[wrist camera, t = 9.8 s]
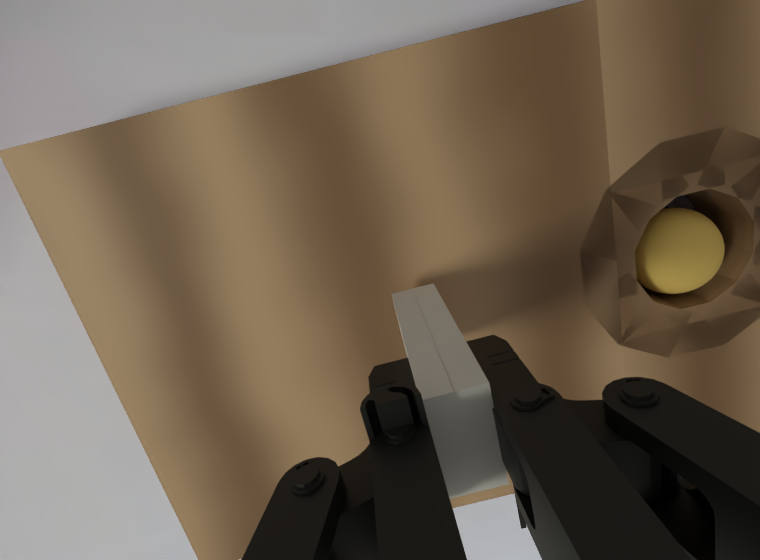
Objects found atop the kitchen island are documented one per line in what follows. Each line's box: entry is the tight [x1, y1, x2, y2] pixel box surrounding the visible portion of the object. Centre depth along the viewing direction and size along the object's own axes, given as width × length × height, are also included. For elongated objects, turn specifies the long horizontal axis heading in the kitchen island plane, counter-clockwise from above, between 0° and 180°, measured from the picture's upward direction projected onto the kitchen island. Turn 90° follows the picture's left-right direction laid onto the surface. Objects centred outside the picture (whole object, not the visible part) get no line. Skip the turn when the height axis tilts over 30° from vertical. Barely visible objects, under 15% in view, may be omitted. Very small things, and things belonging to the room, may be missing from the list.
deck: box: [0, 0, 760, 560], centre depth 18 cm, size 30×18×3 cm, turn 104°
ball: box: [635, 208, 725, 294], centre depth 18 cm, size 3×3×3 cm
